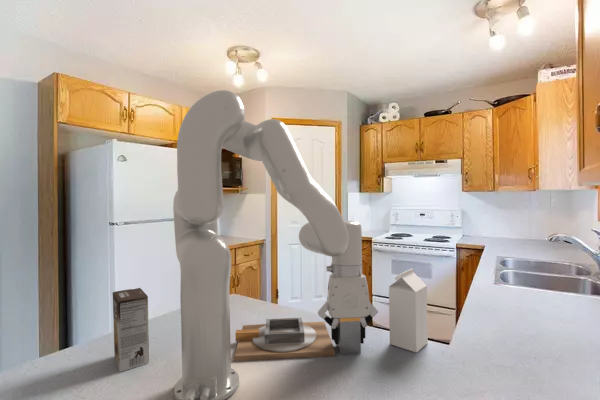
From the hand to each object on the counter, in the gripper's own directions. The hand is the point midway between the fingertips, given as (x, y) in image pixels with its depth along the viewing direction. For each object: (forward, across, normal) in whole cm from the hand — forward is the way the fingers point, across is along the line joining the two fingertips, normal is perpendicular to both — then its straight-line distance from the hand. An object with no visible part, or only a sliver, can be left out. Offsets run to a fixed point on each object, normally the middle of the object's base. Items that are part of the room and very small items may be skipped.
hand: (348, 341), depth 79 cm
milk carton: (+2, +16, +1) cm, 16 cm away
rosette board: (+2, -16, +6) cm, 17 cm away
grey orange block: (+2, 0, 0) cm, 2 cm away
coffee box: (+2, -53, 0) cm, 53 cm away
